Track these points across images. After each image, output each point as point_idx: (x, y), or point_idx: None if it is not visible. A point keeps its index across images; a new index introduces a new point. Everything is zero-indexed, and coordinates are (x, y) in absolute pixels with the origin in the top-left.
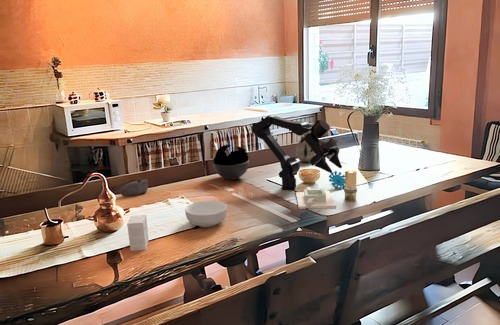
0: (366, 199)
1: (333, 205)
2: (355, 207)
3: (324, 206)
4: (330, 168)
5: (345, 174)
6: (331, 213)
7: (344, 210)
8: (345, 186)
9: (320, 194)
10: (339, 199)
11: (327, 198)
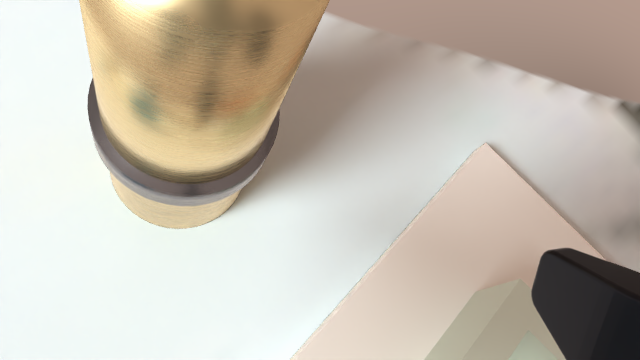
0: (56, 30)
1: (500, 162)
2: (344, 20)
3: (565, 224)
4: (629, 289)
5: (320, 15)
6: (587, 111)
7: (466, 62)
8: (269, 126)
9: (554, 352)
10: (254, 267)
11: (391, 349)
